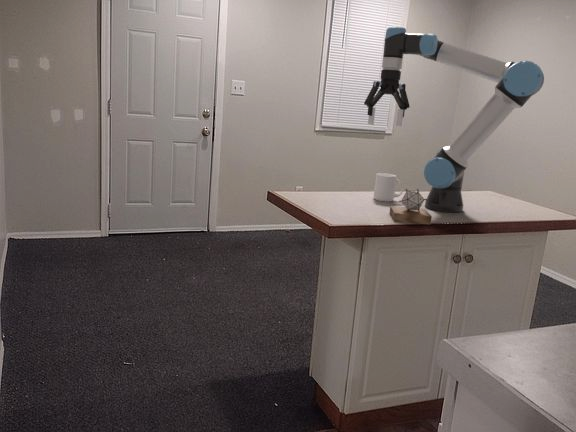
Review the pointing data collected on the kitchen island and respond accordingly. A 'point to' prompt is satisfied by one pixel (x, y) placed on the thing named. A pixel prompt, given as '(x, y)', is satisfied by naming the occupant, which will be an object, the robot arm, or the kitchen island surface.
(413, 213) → the pedestal
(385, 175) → the mug
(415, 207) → the game die
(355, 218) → the kitchen island surface
